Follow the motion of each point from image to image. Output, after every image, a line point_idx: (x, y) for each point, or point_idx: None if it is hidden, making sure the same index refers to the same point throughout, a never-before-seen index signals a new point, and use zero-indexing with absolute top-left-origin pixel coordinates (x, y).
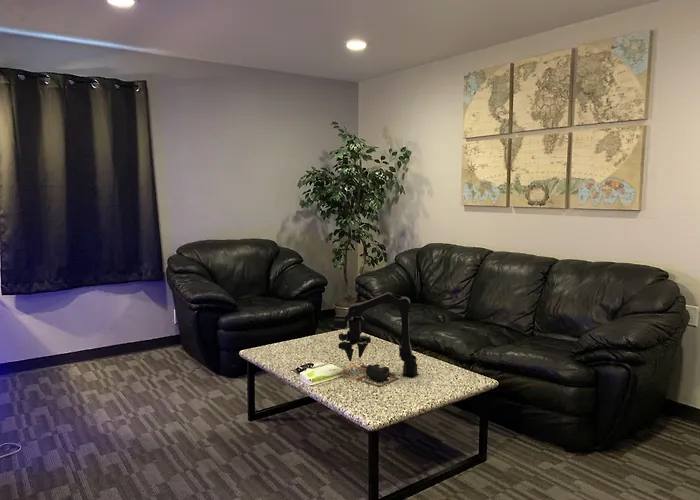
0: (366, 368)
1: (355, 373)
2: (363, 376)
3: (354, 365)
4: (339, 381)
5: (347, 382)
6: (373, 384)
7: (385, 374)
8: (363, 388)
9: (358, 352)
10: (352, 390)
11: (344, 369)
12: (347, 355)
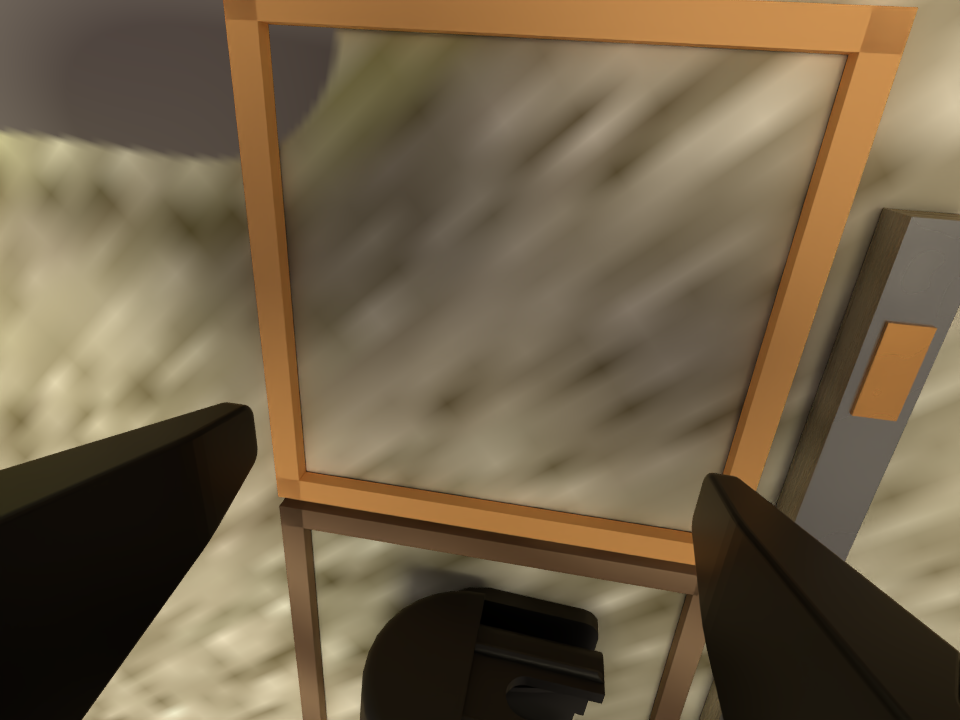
0: (363, 712)
1: (494, 332)
2: (436, 518)
3: (908, 24)
4: (77, 333)
5: None
6: (303, 705)
7: (674, 713)
8: (174, 652)
9: (779, 578)
10: None
11: (497, 27)
12: (8, 489)
